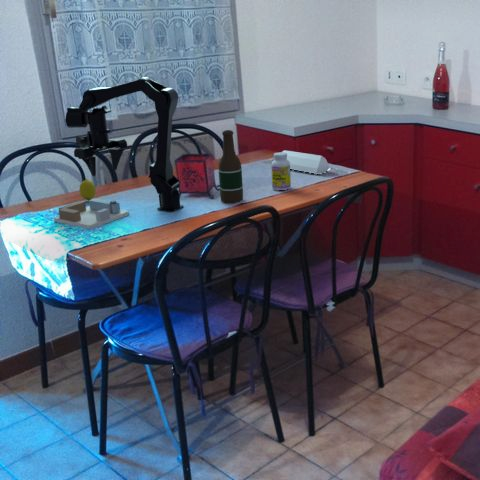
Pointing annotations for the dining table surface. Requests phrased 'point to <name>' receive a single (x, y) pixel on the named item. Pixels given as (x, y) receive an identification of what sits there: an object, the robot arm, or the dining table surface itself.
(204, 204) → the dining table surface
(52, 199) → the dining table surface
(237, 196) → the beer bottle
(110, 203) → the leg
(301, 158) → the white triangular prism
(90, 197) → the lemon
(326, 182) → the dining table surface
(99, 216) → the seat
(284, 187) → the supplement bottle
